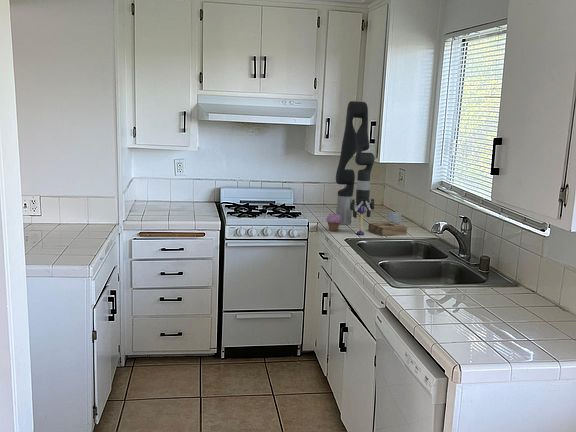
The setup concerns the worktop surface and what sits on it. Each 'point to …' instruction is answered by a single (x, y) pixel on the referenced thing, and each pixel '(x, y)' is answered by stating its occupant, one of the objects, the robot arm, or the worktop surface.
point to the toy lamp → (361, 211)
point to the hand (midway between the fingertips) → (361, 217)
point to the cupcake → (334, 221)
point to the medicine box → (394, 217)
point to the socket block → (387, 228)
